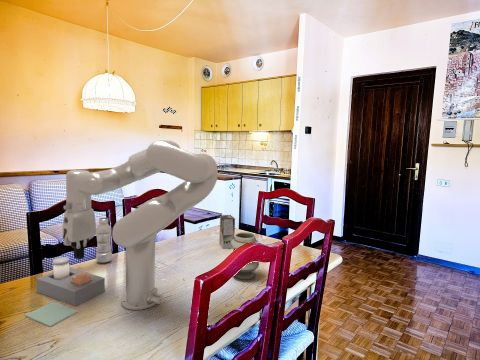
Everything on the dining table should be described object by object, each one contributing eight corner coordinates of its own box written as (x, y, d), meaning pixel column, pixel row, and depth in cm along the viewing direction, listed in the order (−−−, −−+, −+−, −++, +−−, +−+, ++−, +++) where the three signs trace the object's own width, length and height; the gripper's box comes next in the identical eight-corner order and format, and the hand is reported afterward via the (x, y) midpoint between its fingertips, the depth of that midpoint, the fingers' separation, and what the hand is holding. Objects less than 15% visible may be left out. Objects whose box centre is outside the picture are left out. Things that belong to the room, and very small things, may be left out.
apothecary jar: (224, 272, 132) (226, 232, 130) (249, 268, 137) (251, 229, 135) (237, 284, 121) (239, 240, 119) (263, 279, 127) (265, 237, 124)
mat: (77, 312, 98) (77, 311, 98) (50, 327, 90) (50, 325, 90) (53, 302, 103) (53, 301, 103) (24, 316, 95) (24, 314, 95)
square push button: (90, 288, 109) (90, 273, 109) (80, 293, 106) (79, 278, 105) (82, 285, 111) (82, 271, 110) (72, 290, 107) (71, 275, 107)
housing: (104, 291, 112) (104, 277, 112) (74, 306, 101) (74, 291, 101) (68, 278, 120) (67, 266, 120) (36, 291, 110) (36, 278, 109)
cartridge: (73, 287, 114) (72, 258, 113) (60, 292, 110) (59, 263, 108) (64, 283, 116) (63, 255, 115) (50, 289, 112) (49, 260, 110)
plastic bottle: (106, 265, 135) (105, 220, 132) (92, 263, 136) (91, 219, 134) (115, 260, 141) (114, 217, 138) (102, 258, 142) (101, 216, 140)
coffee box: (234, 248, 163) (235, 218, 161) (222, 249, 161) (223, 219, 159) (229, 242, 171) (230, 214, 170) (218, 243, 170) (219, 215, 168)
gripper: (65, 212, 96) (66, 267, 99) (104, 204, 110) (104, 253, 112) (50, 208, 100) (51, 262, 102) (90, 201, 113) (90, 249, 115)
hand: (79, 257), depth 107 cm, fingers closed
